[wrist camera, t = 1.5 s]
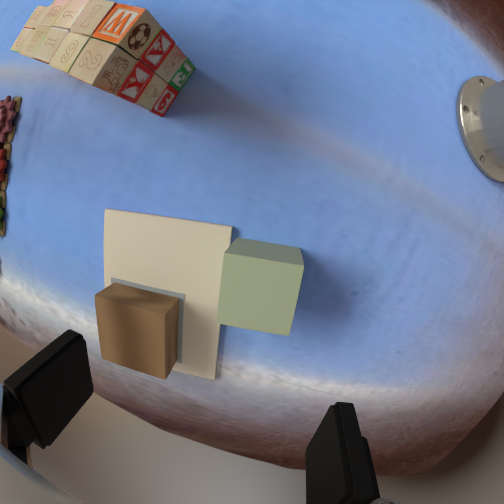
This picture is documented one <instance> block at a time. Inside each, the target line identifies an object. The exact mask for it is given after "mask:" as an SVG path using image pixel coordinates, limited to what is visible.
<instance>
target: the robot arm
mask: <svg viewBox="0 0 504 504" xmlns="http://www.w3.org/2000/svg"><path fill="white" fill-rule="evenodd" d="M456 112H457V121H458V126H459V130H460V134H461V137H462V140H463V143H464V145H465V147H466V149H467V151H468V153H469V155H470V157H471V158H472V160H473V162H474V163H475V164H476V166H477V167H478V168H479V170H480V171H481V172H483V173H484V174H485V175H486V176H487V177H489V178H490V179H492V180H495V181H498V182H504V80H503V81H500V82H498V83H497V82H496V81H494V80H492V79H490V78H488V77H484V76H476V77H473V78H471V79H469V80H467V81H465V83H464V84H463V85H462V86H461V88H460V90H459V93H458V97H457V107H456ZM4 384H5V385H4V386H3V387H2V385H1V383H0V504H86V503H85V502H83V501H81V500H79V499H77V498H76V497H74V496H72V495H71V494H69V493H67V492H66V491H64V490H62V489H61V488H59V487H58V486H56V485H54V484H53V483H52V482H50V481H48V480H47V479H46V478H44V477H43V476H41V475H40V474H39V473H37V472H36V471H34V470H33V466H32V458H31V450H30V445H31V443H32V442H34V443H35V444H36V445H38V446H39V447H41V448H42V449H44V448H45V447H46V446H50V445H51V444H52V443H53V442H54V440H55V439H56V438H57V437H58V435H59V434H60V433H61V432H62V430H63V429H64V428H65V427H66V426H67V424H68V423H69V422H70V421H71V419H72V418H73V417H74V416H75V415H76V413H77V412H78V411H79V410H80V408H81V407H82V406H83V405H84V404H85V402H86V401H87V400H88V399H89V398H90V396H91V395H92V393H93V383H92V378H91V372H90V367H89V360H88V354H87V347H86V341H85V340H84V338H83V336H82V335H81V334H79V333H77V332H75V331H73V330H71V329H70V330H67V331H66V332H64V333H63V334H62V335H60V336H59V337H58V338H57V339H55V340H54V341H53V342H51V343H50V344H49V345H48V346H46V347H45V348H44V349H43V350H41V351H40V352H39V353H38V354H36V355H35V356H34V357H33V358H31V359H30V360H29V361H28V362H26V363H25V364H24V365H23V366H22V367H20V368H19V369H18V370H17V371H15V372H14V373H13V374H12V375H11V376H10V377H8V378H7V379H6V380H5V381H4ZM305 457H306V504H401V503H400V502H398V501H397V500H395V499H392V498H387V497H383V498H380V494H379V489H378V484H377V479H376V475H375V470H374V466H373V462H372V457H371V453H370V449H369V445H368V442H367V439H366V438H365V437H361V432H360V428H359V424H358V420H357V416H356V412H355V408H354V405H353V404H352V403H345V402H336V403H335V405H331V406H330V407H329V409H328V411H327V413H326V414H325V416H324V418H323V420H322V422H321V424H320V425H319V427H318V429H317V431H316V433H315V434H314V436H313V438H312V439H311V441H310V443H309V445H308V446H307V449H306V454H305Z"/></svg>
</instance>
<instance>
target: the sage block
mask: <svg viewBox="0 0 504 504" xmlns="http://www.w3.org/2000/svg"><path fill="white" fill-rule="evenodd" d="M303 271H304V262H303V258H302V254H301V250H300V248H298V247H292V246H286V245H280V244H274V243H268V242H262V241H256V240H250V239H244V238H236V239H235V240H234V241H233V243H232V244H231V245H230V246H229V247H228V249H227V250H226V251H225V252H224V258H223V266H222V274H221V283H220V292H219V301H218V310H217V320H216V323H218V324H223V325H228V326H234V327H239V328H244V329H250V330H256V331H262V332H267V333H274V334H280V335H286V336H289V334H290V329H291V325H292V321H293V317H294V312H295V308H296V303H297V299H298V294H299V290H300V285H301V280H302V276H303Z"/></svg>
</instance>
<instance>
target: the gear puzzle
mask: <svg viewBox="0 0 504 504" xmlns="http://www.w3.org/2000/svg"><path fill="white" fill-rule="evenodd" d="M21 101H22V98H21V97H15V98H13V100H12V101H11V96H7V97H6V99H5V100H1V101H0V235H1V236H4V235H5V220H4V221H2V216H3V214H4V212H3V210H2V207H3V208H5V207H6V192H5V190H6V188H7V180H8V174H5V168H6V167H7V162H6V159H7V160H10V154H11V148H12V146H11V142H12V140H13V137H14V132H15V126H13V127H12V123H13V119H14V118H15V116H16V112H17V113H18V112H19V109H20V105H21Z"/></svg>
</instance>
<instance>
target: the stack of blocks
mask: <svg viewBox="0 0 504 504" xmlns="http://www.w3.org/2000/svg"><path fill="white" fill-rule="evenodd" d="M11 50H12V51H15V52H18V53H20V54H21V55H24V56H27V57H30V58H33V59H36V60H38V61H41V62H44V63H47V64H49V65H50V66H52V67H54V68H57V69H59V70H61V71H64V72H66V73H68V74H69V75H71V76H74V77H76V78H78V79H80V80H82V81H84V82H86V83H88V84H90V85H93V86H95V87H97V88H100V89H102V90H104V91H107V92H109V93H112V94H114V95H116V96H118V97H120V98H122V99H125V100H127V101H129V102H131V103H135V104H137V105H138V106H140V107H142V108H144V109H146V110H148V111H150V112H152V113H154V114H156V115H158V116H160V117H163V116H164V114H165V113H166V111H167V110H168V108H169V107H170V105H171V104H172V102H173V101H174V99H175V98H176V96H177V95H178V93H179V91H180V89H181V88H182V87H183V85H184V84H185V82H186V81H187V80H188V78H189V77H190V76H191V74H192V73H193V72H194V70H195V69H196V68H195V67H194V65H193V64H192V63H191V61H190V60H189V59H188V57H186V56H185V55H184V54H183V53H182V51H181V50H180V49H179V48H178V46H177V45H175V41H174V40H173V39H172V38H171V37H170V36H169V34H168V33H167V32H166V31H165V30H164V29H163V28H162V27H161V26H160V25H159V23H158V22H157V21H156V20H155V18H154V17H153V16H152V15H151V14H150V13H149V11H148V10H147V9H145V8H140V7H135V6H130V5H125V4H117V3H116V2H113V1H104V0H55V1H54V2H53V3H52V5H51V6H49V7H47V6H38V7H37V8H36V9H35V11H34V12H33V14H32V15H31V17H30V18H29V20H28V21H27V23H26V24H25V26H24V28H23V29H22V31H21V33H20V34H19V36H18V38H17V39H16V41H15V43H14V45H13V46H12V48H11Z"/></svg>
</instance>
